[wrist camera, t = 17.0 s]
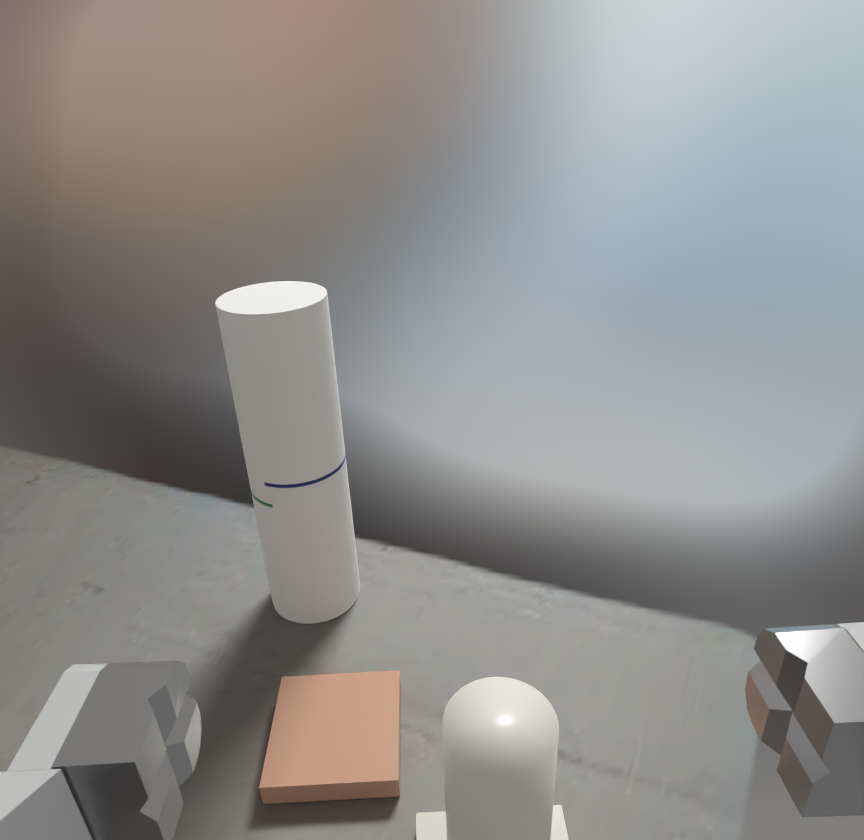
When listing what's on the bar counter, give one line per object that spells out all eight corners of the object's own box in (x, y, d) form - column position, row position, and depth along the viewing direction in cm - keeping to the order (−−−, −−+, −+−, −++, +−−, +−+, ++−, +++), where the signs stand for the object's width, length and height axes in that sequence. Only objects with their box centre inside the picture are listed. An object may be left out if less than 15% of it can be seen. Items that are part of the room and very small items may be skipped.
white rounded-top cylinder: (449, 948, 31) (443, 782, 26) (444, 839, 36) (437, 678, 30) (557, 942, 31) (573, 775, 26) (538, 834, 36) (548, 672, 30)
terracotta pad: (263, 804, 39) (259, 787, 39) (284, 692, 46) (281, 676, 46) (399, 796, 40) (398, 780, 39) (400, 686, 47) (399, 670, 46)
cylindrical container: (342, 629, 52) (300, 316, 40) (257, 616, 53) (193, 311, 42) (371, 569, 58) (342, 282, 46) (294, 559, 59) (247, 279, 48)
